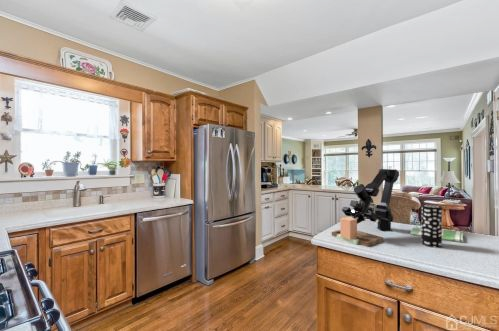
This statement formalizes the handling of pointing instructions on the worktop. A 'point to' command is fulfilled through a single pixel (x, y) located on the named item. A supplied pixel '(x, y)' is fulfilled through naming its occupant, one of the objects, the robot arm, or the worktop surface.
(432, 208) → the spotted tube
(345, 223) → the terracotta block
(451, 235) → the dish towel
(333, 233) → the walnut board
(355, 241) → the green end pad
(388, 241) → the worktop surface
